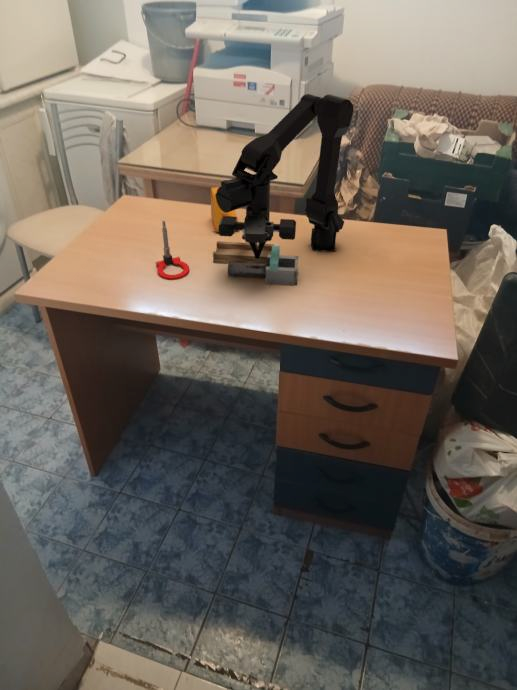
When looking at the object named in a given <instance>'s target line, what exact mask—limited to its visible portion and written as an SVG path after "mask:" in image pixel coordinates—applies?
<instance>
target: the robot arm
mask: <svg viewBox="0 0 517 690" xmlns="http://www.w3.org/2000/svg"><path fill="white" fill-rule="evenodd" d="M353 115H354V104H352V101H351V100H350V99H348V98H343V97H340V96H337V95H333V94H326V95H324V96H323V97H321V96H318V95H314V94H310V93H306V94H303V95H302V96H301V97H300V100H299V102H297V104H296V105H294V107H293V108H291V110H290V111H289V112H288V113H287V114H286V115H285V116H284V117H283V118H282V119H281V120H280V121H279V122H278V123H277V124H276V125H274V127H273V128H272V129H271V130H270V131H269V132H267V133H266V134H264V135H261V136H258V137H256V138H254V139H253V140H251V141H250V142H247V144H246V145H245V146H244V147H243V148H242V150H241V154H240V156H239V158H238V161H236V164H235V167H234V169H233V171H232V172H231V176H232V177H234V178H231V179H226V180H222V181H221V182H220V186H218V187H219V188H218V190H217V193H216V201H217V204H218V206H219V208H220V209H221V210H222V211H223V212H226V213H227V212H230V211H233V210H235V211H236V210H238V209H242V208H244V207H245V217H244V221H243V222H242V221H241V222H240V221H239V222H237V218H238V216H237V217H231V216H223V217H222V218H221V221H220V223H219V232H218V235H219V236H220V237H233V235H234V234H235V231H241V233H242V235H241V239H242V240H244V241H245V243H249V244H250V246H251V248H252V250H253V253H254V255H255V258H256V259H259V257H260V255H261V252H262V249H263V247H264V245H265V244H267V242H271V241H272V239H273V237H274V233H278V237H279V238H280V239H281V240H288V241H289V240H292V241H293V240H295V239H296V232H297V231H296V230H297V229H296V228H297V221H296V220H295V219H290V218H289V219H288V218H280V221H279V223H275V222H274V221H270V211H271V209H270V208H271V207H270V206H271V182H272V181H275V180H278V175H277V174H276V173H274V172H273V171H274V169H275V168H276V167H277V166H278V164H279V163H280V161H281V159H282V154H283V152H284V150H285V149H286V148H287V147H288V146H289V145H290V143H291V142H293V141H294V140H295V138H297V137H298V136H299V135H300V134H301V133H302V131H303V130H304V129H305V128H307V126H308V125H309V124H311V122H313V120H314V119H315V118H316V117H317V126H318V127H319V131H320V134H321V140H320V150H319V158H318V166H317V167H318V168H317V173H316V174H317V175H316V183H315V190H314V192H313V194H312V195H311V196H310V197H307V198H306V200H305V202H306V203H305V204H306V205H305V209H304V213H306V214H305V216H306V217H307V218H308V219H307V220H308V223H309V224H312V225H313V227H312V228H311V233H310V245H311V250H312V251H319V252H322V251H323V252H336V240H337V233H340V230H343V227H344V225H345V220H344V219H343V218H342V217H341V216H340V215H339V202H338V200H337V198H336V195H335V190H336V189H335V188H336V180H337V176H338V175H337V174H338V169H339V168H338V167H339V159H340V153H341V146H342V139H343V136H344V135H345V134H346V133H347V131H348V129H349V128H350V126H351V122H352V118H353ZM246 169H247V170H249V171H251V172H252V173H250V172H248V171H246ZM257 243H259V247H258V246H257Z"/></svg>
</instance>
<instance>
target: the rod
mask: <svg viewBox="0 0 517 690" xmlns="http://www.w3.org/2000/svg"><path fill="white" fill-rule="evenodd" d="M266 267H270V264H254V263H235V262H229V263H228V264H227V276H228V277H236V278H238V277H241V278H258V279H266ZM278 267H282V265H278Z"/></svg>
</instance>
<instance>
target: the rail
mask: <svg viewBox="0 0 517 690" xmlns="http://www.w3.org/2000/svg"><path fill="white" fill-rule="evenodd" d="M257 246H258V247H259V243H257ZM272 246H275V244H274V243H265V245H264V247H263V249H262V252H261V255H260V257H259V259H256V258H255V255H254V253H253V250H252V248H251V246H250V244H249V243H248V242H239V241H238V242H237V241H220V240H217V241H216V249H215V251H213V252H212V257H213V259H212V261H213V264H214V263H215V264H227V265H228V263H229V262H235V263H254V264H268V255H271V251H272Z"/></svg>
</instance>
